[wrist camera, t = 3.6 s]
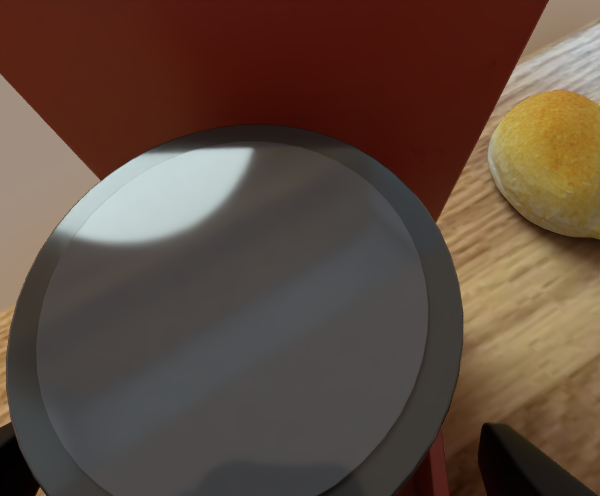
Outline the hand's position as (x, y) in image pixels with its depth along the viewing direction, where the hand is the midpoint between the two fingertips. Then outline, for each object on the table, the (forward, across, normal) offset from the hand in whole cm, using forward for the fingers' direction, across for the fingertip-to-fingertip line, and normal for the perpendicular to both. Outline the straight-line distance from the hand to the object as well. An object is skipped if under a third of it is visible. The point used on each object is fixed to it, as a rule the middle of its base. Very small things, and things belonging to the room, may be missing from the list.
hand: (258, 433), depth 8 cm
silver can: (+7, 0, +5) cm, 9 cm away
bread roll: (+16, -15, -2) cm, 22 cm away
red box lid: (+5, 0, -5) cm, 6 cm away
